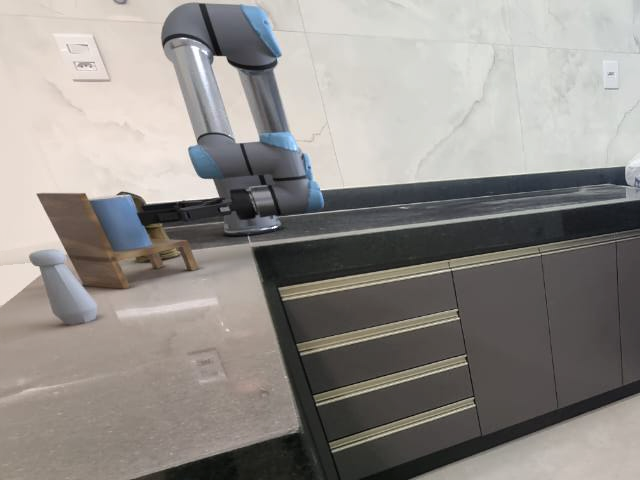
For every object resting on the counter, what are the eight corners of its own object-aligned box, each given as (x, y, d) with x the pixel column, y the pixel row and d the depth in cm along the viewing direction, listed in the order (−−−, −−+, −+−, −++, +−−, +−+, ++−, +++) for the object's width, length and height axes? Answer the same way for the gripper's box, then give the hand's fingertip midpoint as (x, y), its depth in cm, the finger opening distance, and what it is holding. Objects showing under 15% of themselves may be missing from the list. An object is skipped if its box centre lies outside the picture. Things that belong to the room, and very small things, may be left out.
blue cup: (153, 241, 126) (132, 193, 121) (150, 246, 120) (128, 196, 115) (93, 249, 120) (69, 199, 115) (88, 255, 114) (61, 203, 110)
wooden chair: (160, 266, 133) (123, 183, 124) (199, 268, 129) (163, 183, 120) (83, 285, 119) (35, 193, 110) (124, 288, 115) (78, 193, 106)
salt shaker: (103, 312, 100) (68, 244, 95) (104, 319, 97) (67, 249, 91) (60, 321, 97) (21, 251, 91) (59, 329, 93) (19, 256, 87)
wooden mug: (131, 267, 132) (96, 193, 125) (139, 257, 143) (107, 188, 135) (176, 261, 137) (145, 189, 129) (180, 251, 147) (152, 184, 139)
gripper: (261, 224, 124) (145, 240, 113) (253, 212, 142) (152, 224, 131) (250, 191, 121) (128, 204, 110) (243, 183, 139) (139, 193, 128)
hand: (141, 215), depth 120 cm, fingers open, 13 cm apart
